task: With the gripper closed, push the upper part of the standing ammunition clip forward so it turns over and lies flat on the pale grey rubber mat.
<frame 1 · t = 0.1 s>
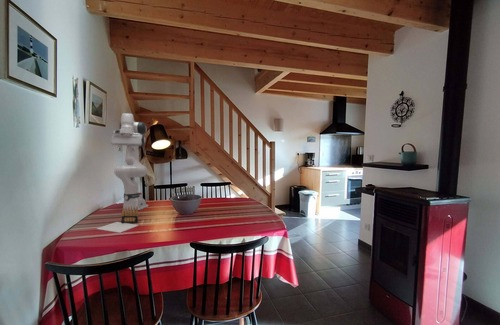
hand: (126, 150, 174), 52 cm above the table, tool tilted 20°, fingers open, 8 cm apart
ammunition clip: (129, 223, 172), on the table, touching mat
mat: (118, 227, 162), on the table
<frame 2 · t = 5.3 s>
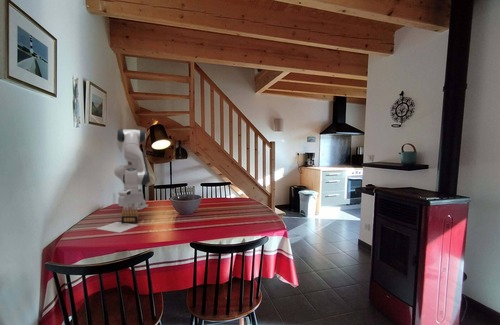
hand: (131, 209, 173), 9 cm above the table, tool pointing down, fingers closed
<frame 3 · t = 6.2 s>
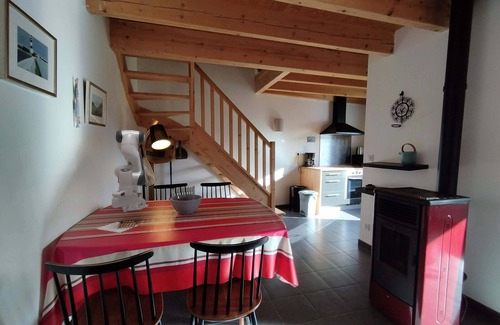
hand: (125, 211, 168), 9 cm above the table, tool pointing down, fingers closed
ammunition clip: (129, 221, 171), point 1 cm above the table, touching mat
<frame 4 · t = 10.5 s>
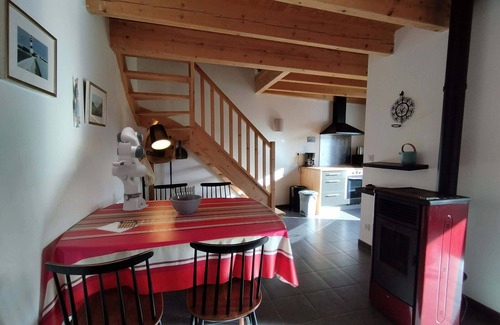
hand: (125, 181, 179), 29 cm above the table, tool pointing down, fingers closed
nothing on the table moved.
at the end: ammunition clip tilted 92°; ammunition clip touching mat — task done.
